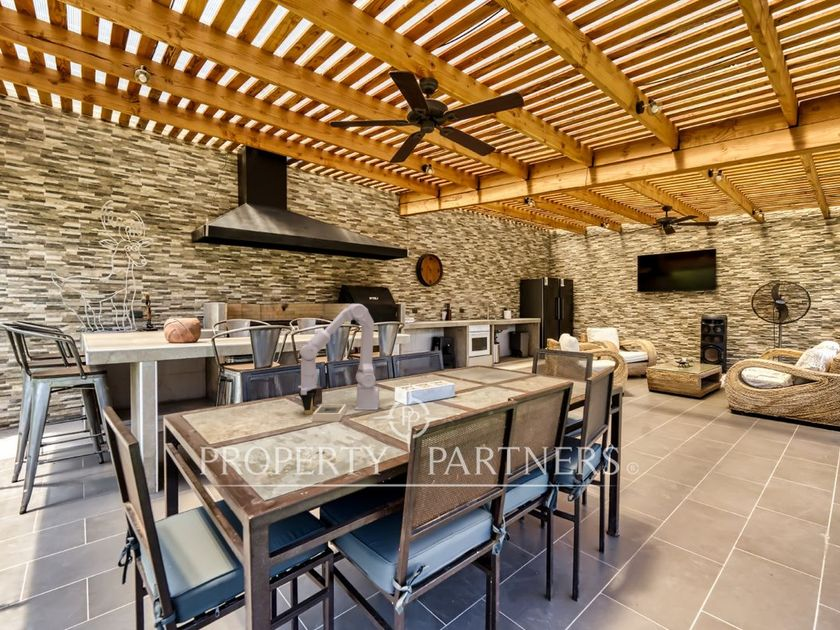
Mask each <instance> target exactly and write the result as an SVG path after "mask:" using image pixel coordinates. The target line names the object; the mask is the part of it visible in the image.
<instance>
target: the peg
mask: <svg viewBox="0 0 840 630" xmlns="http://www.w3.org/2000/svg"><path fill="white" fill-rule="evenodd" d="M313 409H314V406H313V397H312V401H311V408H310V410H304V415H313V413H314V410H313Z"/></svg>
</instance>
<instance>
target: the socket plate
mask: <svg viewBox="0 0 840 630" xmlns="http://www.w3.org/2000/svg"><path fill="white" fill-rule="evenodd" d="M341 408H342V407H322V408H321V409H320V410H319V412H318V413H338V412H339V411H340V409H341Z"/></svg>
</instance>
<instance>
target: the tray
mask: <svg viewBox="0 0 840 630" xmlns="http://www.w3.org/2000/svg"><path fill="white" fill-rule="evenodd" d="M322 407H342V408H341V409H340V411H339V412H338V413H318V412H319V410H320V409H321V408H322ZM346 413H347V403H342V404H341V403H321V404H319V407H317V408H316V409H315V411H313V414H312V422H315V423H317V422H321V423H323V422H324V423H325V422H329V423H331V422H333V423H334V422H335V423H337V422H339V423H340V421H341V420H342V419H343V417H344V416H345V414H346Z"/></svg>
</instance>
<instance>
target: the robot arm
mask: <svg viewBox="0 0 840 630" xmlns="http://www.w3.org/2000/svg"><path fill="white" fill-rule="evenodd" d="M353 320H354V321H356V322H357V324H359V325H360V326H361V330H360V335H361V336H360V351H359V353H360V356H359V364H358V367H357V368H358V369H357V371H356V374H355V380H356V382H357V385H356V406H355V408H354V410H356V411H357V410H360V411H365V410H366V411H368V410H369V411H370V410H373V411H375V410H376V411H377V410H379V407H380V403H381V402H380V401H381V400H380V387H379V386H375V383H376V379H377V378H376V376H375V372H374V366H373V350H374V349H373V348H374V329H375V321H374V319H373V317H372V316H371V314H370V312H369V308H367V307H366V306H365V305H363V304H361V303H350V304H348V306H347V307H346V308H344V309H343V310H342V311H340V312H339V314H337V316H335V318H334V319H333V321H331V322H330V323H329V325H327V327H326V328H324V329H323V330H322V329H320V330H318V331H315V332H314V336H313V337H312V338H311V339H309V340H307V341H305V342H306V344H304V345H303V346H302V347H301V348H300V350H299V355H300V356H301V357H300V358H301V359H300V362H301V363H300V379H301V380H300V385H297V388H298V389H301V390H300V392H298V396H299V397H300V399H301V402H302V405H303V410H304V411H305V410H310V408H311V401H312V397H313V405H314V400H315V396H316V393H317V391H318V389H315V388H316V386H317V363H316V357H317V356H318V352H320V351H322V350H323V348H324V347H325V346H326V345H327V344H329V342H330V341H331V335H333V333H335V332H336V331H337V330H338V329H339V328H340V327H341V326H342V325H343V324H344V323H345V322H346V323H347V322H349V321H353Z"/></svg>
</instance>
